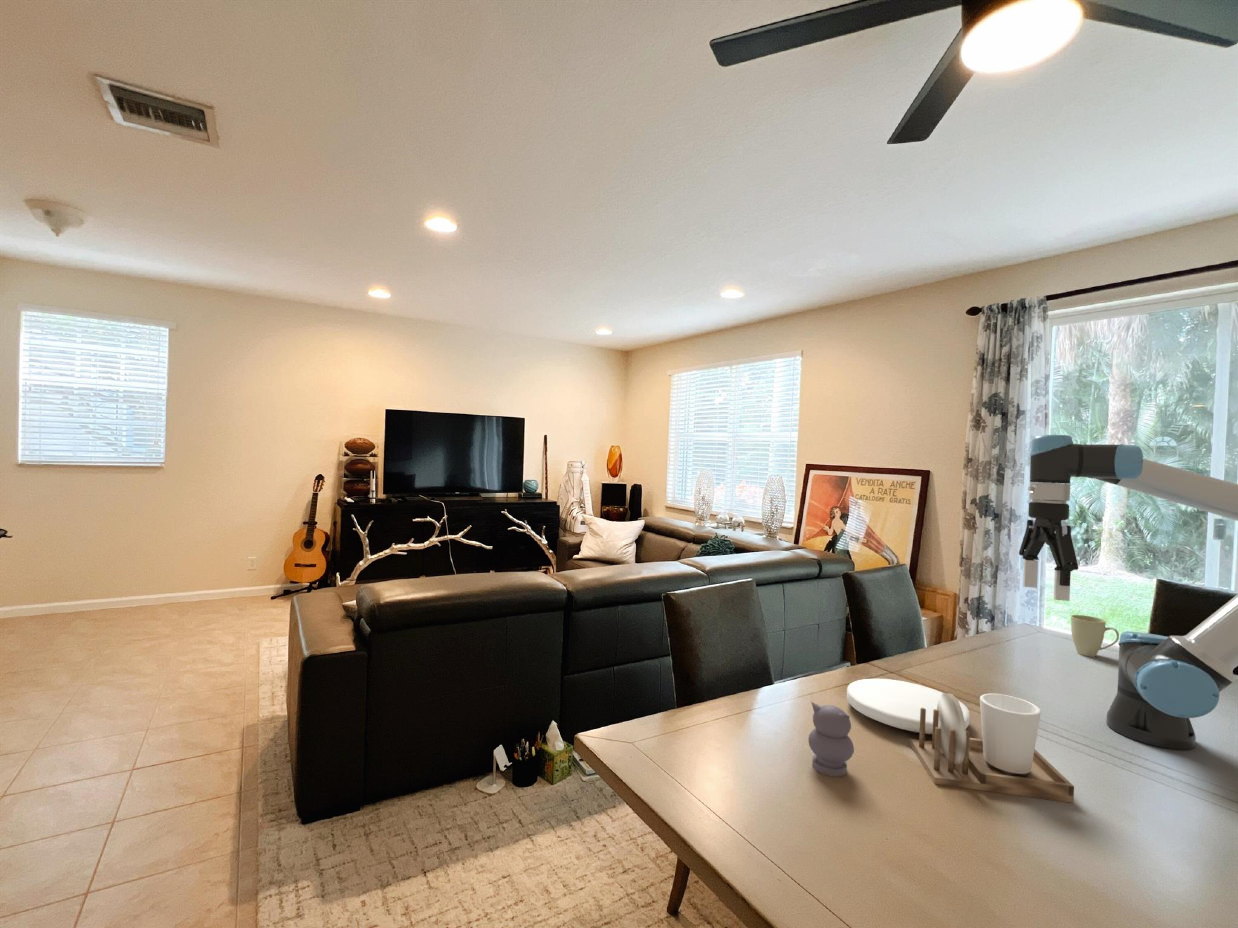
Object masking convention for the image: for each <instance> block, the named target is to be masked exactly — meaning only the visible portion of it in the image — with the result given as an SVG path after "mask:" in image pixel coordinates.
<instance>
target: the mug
mask: <svg viewBox="0 0 1238 928" xmlns="http://www.w3.org/2000/svg"><path fill="white" fill-rule="evenodd" d="M1106 622H1107V621H1106V620H1104V619H1102V618H1099V617H1095V616H1090V615H1084V614H1071V615H1070V623H1071V624H1070V625H1071V627H1070V628H1071V629H1070V630H1071V638H1072V640H1073V645H1074V647H1075V650H1076V652H1077V653H1076V654H1078V655H1081V656H1083V657H1084V656H1085V657H1089V656H1090V657H1091V658H1095V656H1096V657H1097V654H1098V653H1099V651H1102V650H1104V649H1105V650H1106V649H1108V648H1110V647H1112V646H1114V645H1116V643H1118V642H1119V640H1120V633H1119V631H1118V630H1117V629H1116V628H1115V627H1106ZM1110 630H1112V631H1114V632H1115V634H1116V639H1115V640H1114V641H1113V642H1112V643H1110V644H1108V645H1106V646H1104V647H1102V644H1103V641H1104V638H1105V633H1106V632H1108V631H1110Z"/></svg>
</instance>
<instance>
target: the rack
mask: <svg viewBox="0 0 1238 928" xmlns="http://www.w3.org/2000/svg"><path fill="white" fill-rule="evenodd" d="M942 693H943V694H942V695H941V696H940V698H939V701H938V705H937V710H936V709H934V710H933V734H931V735H932V737H931V738H932V740H925V739H926V734H925V720H926V709H925V708H921V709H920V733H919V732H918V733H919V735H918V736H919V737H918V738H919V739H914V738H910V739H909V745H910V747H911V748H912V750H913V752H914V753H915V755H916V756H917V758H918V759H919V761H920V762H921V764H922V765H923V767H924V769H925V771H926V772H927V774H928V775H929V777H930V778H931V780H932V782H933V783H934V784H935V785H942V786H948V787H956V788H963V789H969V790H976V791H977V790H978V791H984V792H985V791H986V792H990V793H991V792H992V793H1000V794H1007V795H1013V796H1022V797H1028V798H1035V799H1042V800H1050V801H1057V802H1064V803H1065V802H1066V803H1074V801H1075V800H1074V797H1075V786H1074V785H1073V784H1072V783H1071V782H1070V781H1069V780H1068V779H1067V778H1066V777H1065V776H1064V775H1063V774H1062V773H1061V772H1060V771H1059V770H1058V769H1056V768H1055V767H1054V766H1053V765H1052V764H1051V763H1050V762H1049V761H1048V760H1047V759H1046V758H1045V757H1044V756H1043V755H1042V754H1041V753H1039V752H1038V751H1037V750H1036V749H1035V750H1034V756H1033V762H1032V768H1031V771H1030V773H1029V775H1028V776H1027V777H1024V776H1021V775H1019V774H1013V775H1012V776H1008V775H1005V774H1004V773H1003V772H1002V771H1001V770H999V769H997V768H991V767H989V766H988V765H987V763H986V761H985V758H984V752H983V738H982V739H981V738H974V737H973V738H972V737H971V734H970V732H971V731H968V730H967V728H966V727H965V721H964V716H963V712H962V709H961V706H960V704H959V702H958V701H959V700H958V699H957V697H956V696H955V695H954V694H952V693H949V692H947V693H946V692H942Z"/></svg>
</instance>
